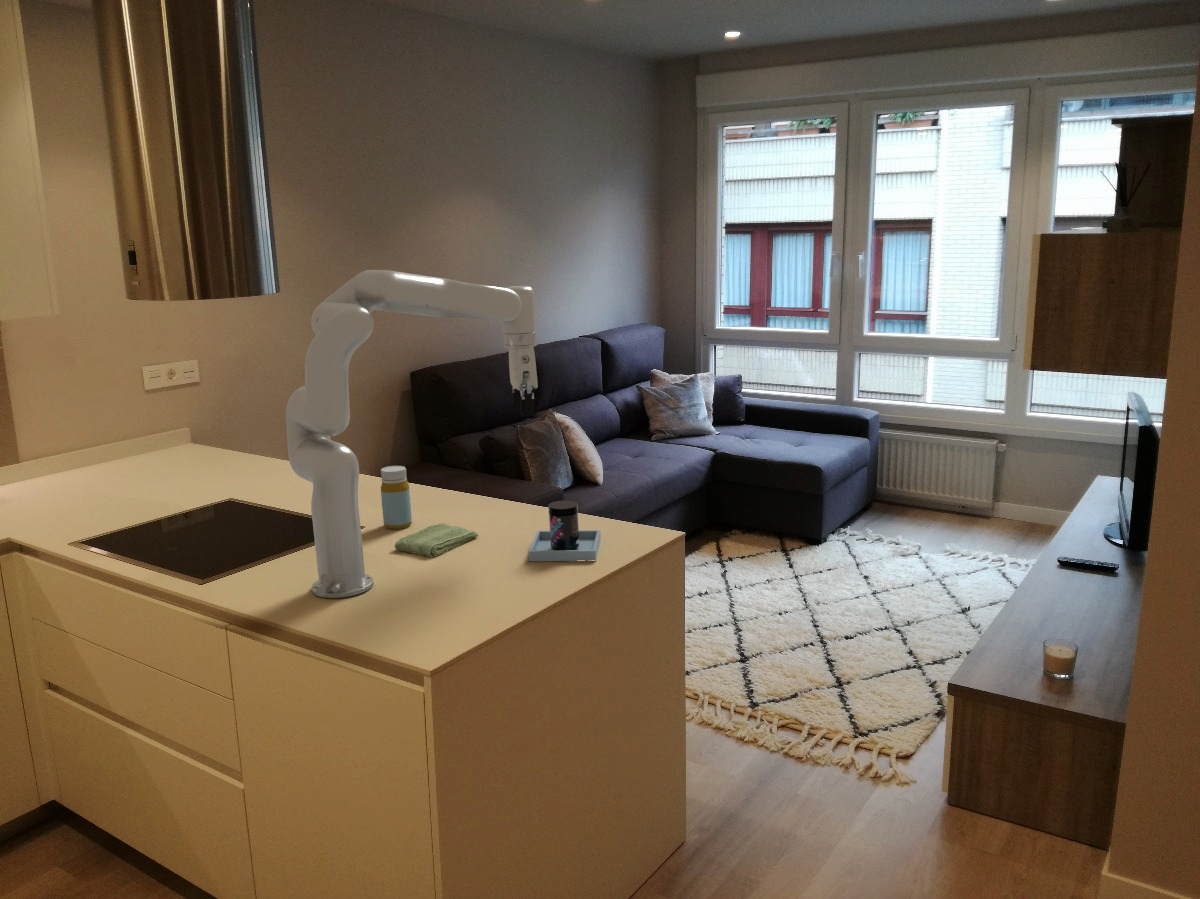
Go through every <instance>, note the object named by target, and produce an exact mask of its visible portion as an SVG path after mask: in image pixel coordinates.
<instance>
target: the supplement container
mask: <svg viewBox="0 0 1200 899" xmlns="http://www.w3.org/2000/svg"><path fill="white" fill-rule="evenodd" d="M578 506H579V504H578V503H577V502H576V501H573V500H557V501H552V502H550V503H549V504H548V522H549V524H548V525H549V531H550V544H551V548H552V549H553V550H576V549H577V548H578V547H579V529H580V528H579V507H578Z"/></svg>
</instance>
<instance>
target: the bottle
mask: <svg viewBox="0 0 1200 899" xmlns="http://www.w3.org/2000/svg"><path fill="white" fill-rule="evenodd" d="M380 477H381V485H380V496H381V497H380V498H381V506H382V519H383V526H384V527H385V528H386V529H388V528H389V530H394V529H396V530H402V529H401V528H404V529H407V528H409V527H410V526H411V524H412V523H413V517H412V504H411V493H410V492H411V491H410V484H409V482H408V479H407V468H406V467H405V466H403V465H389V466H385V467H382V468H381V469H380ZM406 527H407V528H406Z"/></svg>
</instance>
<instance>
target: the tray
mask: <svg viewBox="0 0 1200 899" xmlns="http://www.w3.org/2000/svg"><path fill="white" fill-rule="evenodd" d="M601 535H602V534H601V529H590V530H588V529H586V530H585V529H583V530H582V529H581V530H579V547H578V548H577V549H576V550H553V549H552V548H551V544H550V530H537V531H536V532H535V536H534V538H533V540H532V543H531V544H530V548H529V550H528V562H529V561H568V562H578V561H577V560H585V561H584V562H589V561H588V560H595V561H594V562H597V558H596V557H598V554H597V553H599V550H600V545H599V544H601Z"/></svg>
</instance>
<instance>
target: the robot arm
mask: <svg viewBox="0 0 1200 899" xmlns="http://www.w3.org/2000/svg"><path fill="white" fill-rule="evenodd" d="M535 307H536V306H535V293H534V289H533V288H532V287H531V286H528V285H511V286H506V287H501V286H500V287H498V286H492V285H484V284H478V283H477V284H476V283H470V282H465V281H459V280H455V279H449V278H443V277H437V276H432V275H431V276H429V275H422V274H416V273H410V272H402V271H395V270H387V269H367V270H364V271H361V272H359V273H358V274H356V275H355V276H353V277H352V278H351V279H349V280H348V281H347V282H346V283H344V284H343V285H342V286H340V287H339V288H338V289H336V291H334V292H333V293H332V294H330V295H329V296H328V297H327V298H325V299H324V300H322V302H321V303H319V304H318V305H317V307H316V308H315V309H314V311H313V312H312V315H311V318H310V324H311V325H310V326H311V329H312V331H313V333H314V337H313V339H312V340H311V342H310V344H309V346H308V348H307V351H306V355H305V360H304V385H303V386H300V387H298V388H297V389H295V391H293V392H292V394H291V395H290V397H289V399H288V401H287V404H286V409H285V424H286V438H287V439H286V441H287V455H288V461H289V464H290V467H291V469H292V471H293V472H294V473H295V474H296V476H298V477H299V478H301V479H303V480H305V481H308V482H310V483H312V493H311V494H312V495H311V501H310V506H311V507H310V510H311V520H312V527H313V528H312V529H313V537H314V538H313V539H314V547H315V555H316V556H315V557H316V567H317V577H318V579H317V580H316V581H314V582H313V583H312V585H311V591H312V594H314V595H315V596H317V597H320V598H325V599H340V598H342V599H343V598H348V597H354V596H356V595H361V594H363V593H365V592H367V591H369V590H370V589H371V588H372V587H373V586H374V578H373V577H372V576H371V575H370V574H367V573H365V571H366V570H365V561H364V551H363V550H364V548H363V541H362V539H363V538H362V529H361V519H360V518H361V517H360V508H359V496H358V495H359V479H360V478H359V477H360V476H359V475H360V465H359V460H358V458H357V456H356V454H355V453H354V452H353V451H352V449H351V448H350V447H348V446H346V445H345V444H343V443H340V442H337V441H334V440H331V437H333V436H337V435H340V434H342V433H343V432H345V431H346V430H347V428H348V426H349V423H350V420H351V408H350V388H349V368H350V367H349V366H350V362H351V360H352V357H353V355H354V353H355V352H356V351H357V349H359V347H360V346H361V345H363V344H364V343H365V342H366V341H367V340H368V339H369V338H370V337H371V336H372V334H373V330H374V327H375V326H374V325H375V322H374V321H375V320H374V317H373V314H372V312H373V311H383V312H388V313H397V314H404V315H405V314H408V315H415V316H422V317H423V316H425V317H431V318H432V317H433V318H442V319H469V320H480V321H483V322H495V323H496V322H497V323H502V329H503V345H504V346H503V347H504V348H507V349H508V367H509V368H508V369H509V380H510V384H511V386H512V388H511V390H512V408H513V410H520V416H521V417H534V416H535V415H536V408H535V407H536V406H535V393H534V390H536V389H537V388H538V387H539V386H538V384H539V383H538V375H537V363H536V356H535V355H536V354H535V349H534V348H535V347H537V330H536V329H537V328H536V311H535V310H536V308H535Z"/></svg>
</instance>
